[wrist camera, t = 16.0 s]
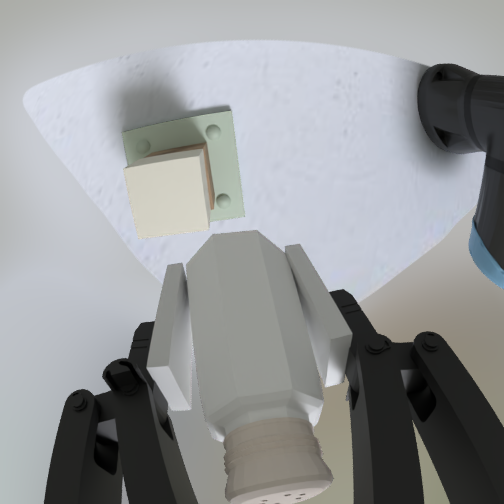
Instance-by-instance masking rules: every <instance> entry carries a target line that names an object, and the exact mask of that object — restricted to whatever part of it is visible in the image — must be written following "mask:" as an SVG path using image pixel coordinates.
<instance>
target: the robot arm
mask: <svg viewBox="0 0 504 504" xmlns="http://www.w3.org/2000/svg"><path fill="white" fill-rule="evenodd" d="M418 108H419V114H420V118H421V121H422V124H423V127H424V129H425V131H426V133H427V134H428V136H429V137H430V139H431V140H432V141H433V142H434V143H435V144H436V145H437V146H438V147H440V148H441V149H443V150H446V151H449V152H452V153H455V154H466V153H473V152H481V151H483V152H486V160H485V166H484V172H483V178H482V184H481V189H480V194H479V199H478V204H477V209H476V213H475V215H474V217H473V220H472V230H471V234H470V239H469V251H470V254H471V256H472V258H473V261H474V262H475V264H476V265H477V267H478V268H479V269H480V270H481V272H482V273H483V274H484V275H485V276H486V277H487V278H489V279H490V280H491V281H492V282H494V283H495V284H496V285H498V286H499V287H501V288H502V289H504V76H497V75H480V74H477V73H475V72H473V71H470V70H468V69H466V68H463V67H461V66H458V65H455V64H437V65H434V66H432V67H431V68H429V69H428V70H427V71H426V72H425V74H424V76H423V77H422V80H421V82H420V86H419V91H418ZM285 254H286V256H287V259H288V261H289V264H290V267H291V271H292V274H293V278H294V281H295V285H296V289H297V292H298V296H299V300H300V303H301V307H302V311H303V314H304V318H305V322H306V326H307V330H308V333H309V337H310V341H311V345H312V349H313V353H314V357H315V361H316V365H317V367H318V370H319V372H320V375H321V378H322V380H323V383H324V386H325V387H328V386H332V385H336V384H340V383H343V382H344V378H345V374H346V376H347V379H348V381H349V387H348V391H347V396H346V401H348V400H349V405H350V418H351V432H352V449H353V479H354V504H424V495H423V485H422V477H421V469H420V462H419V456H418V449H417V443H416V437H415V432H414V427H413V422H414V424H415V426H416V428H417V430H418V432H419V434H420V436H421V438H422V441H423V443H424V445H425V447H426V449H427V451H428V453H429V456H430V458H431V460H432V462H433V464H434V466H435V469H436V471H437V473H438V476H439V478H440V480H441V483H442V485H443V487H444V490H445V492H446V494H447V497H448V499H449V502H450V504H504V427H503V425H502V424H501V422H500V420H499V419H498V417H497V415H496V414H495V412H494V410H493V409H492V407H491V406H490V404H489V403H488V401H487V399H486V398H485V397H484V395H483V393H482V392H481V391H480V389H479V387H478V386H477V384H476V383H475V381H474V380H473V378H472V377H471V375H470V374H469V373H468V371H467V370H466V369H465V367H464V366H463V364H462V363H461V361H460V360H459V359H458V357H457V356H456V354H455V353H454V352H453V350H452V349H451V348H450V346H449V345H448V344H447V342H446V341H445V340H444V339H443V338H442V337H441V336H440V335H439V334H437V333H434V332H428V331H427V332H422V333H420V334H418V335H417V336H416V338H415V339H414V342H407V343H394V342H391V340H390V339H389V338H387V337H386V336H384V335H381V334H378V333H377V332H376V330H375V329H374V328H373V326H372V324H371V323H370V321H369V320H368V318H367V317H366V315H365V314H364V312H363V311H362V310H361V308H360V306H359V305H358V304H357V302H356V300H355V299H354V297H353V296H352V295H351V294H350V293H348V292H347V291H345V290H344V289H341V290H337V291H332V292H328V290H327V288H326V287H325V285H324V283H323V282H322V280H321V278H320V276H319V275H318V273H317V271H316V270H315V268H314V266H313V265H312V263H311V262H310V260H309V258H308V257H307V255H306V253H305V252H304V250H303V248H302V247H301V245H300V244H295V245H289V246H285ZM192 343H193V338H192V329H191V319H190V308H189V297H188V285H187V279H186V275H185V271H184V267H183V264H182V263H177V264H171V265H168V266H167V270H166V274H165V278H164V282H163V287H162V291H161V296H160V300H159V305H158V309H157V314H156V319H155V321H153V322H144V323H141V324H140V325H139V327H138V328H137V329H136V331H135V333H134V337H133V342H132V345H131V350H130V353H129V357H128V359H127V358H122V359H117V360H115V361H113V362H111V363H110V364H109V365H108V366H107V367H106V368H105V370H104V371H103V376H102V377H103V379H104V380H105V382H106V383H107V384H108V386H109V387H110V389H111V391H108V392H106V393H102V394H99V395H95V396H94V395H93V394H92V393H91V392H90V391H88V390H85V389H81V390H77V391H75V392H73V393H72V394H71V395H70V396H69V397H68V398H67V400H66V402H65V405H64V409H63V412H62V416H61V420H60V423H59V427H58V431H57V436H56V440H55V444H54V448H53V453H52V458H51V463H50V468H49V474H48V479H47V485H46V492H45V500H44V504H121V499H122V479H123V477H124V482H125V487H126V491H127V496H128V500H129V504H198V502H197V499H196V496H195V494H194V491H193V488H192V486H191V483H190V480H189V477H188V474H187V471H186V468H185V465H184V462H183V459H182V456H181V452H180V449H179V446H178V442H177V439H176V436H175V432H174V428H173V425H172V421H171V419H170V417H169V415H168V414H167V410H168V405H169V407H170V408H171V410H172V411H180V410H191V379H192V377H191V376H192ZM412 420H413V422H412Z"/></svg>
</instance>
